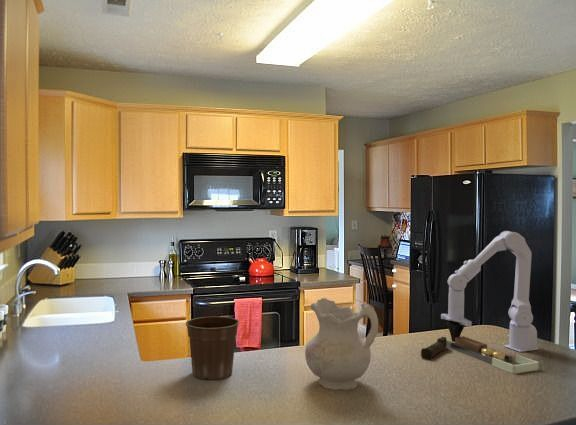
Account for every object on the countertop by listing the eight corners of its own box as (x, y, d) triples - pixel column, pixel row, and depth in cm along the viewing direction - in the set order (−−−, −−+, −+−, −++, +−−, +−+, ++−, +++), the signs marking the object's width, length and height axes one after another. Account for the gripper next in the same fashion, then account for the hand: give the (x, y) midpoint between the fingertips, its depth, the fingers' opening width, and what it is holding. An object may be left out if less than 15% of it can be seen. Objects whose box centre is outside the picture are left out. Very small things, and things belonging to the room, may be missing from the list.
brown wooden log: (431, 361, 178) (431, 347, 178) (420, 358, 180) (420, 345, 180) (452, 349, 192) (453, 337, 192) (442, 347, 195) (443, 335, 195)
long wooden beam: (463, 346, 197) (463, 336, 197) (486, 355, 186) (487, 344, 186) (454, 347, 195) (455, 337, 195) (478, 356, 184) (478, 345, 184)
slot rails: (462, 343, 200) (462, 338, 200) (512, 361, 178) (512, 356, 178) (444, 345, 197) (444, 340, 197) (492, 364, 175) (492, 358, 175)
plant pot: (174, 373, 159) (175, 321, 159) (215, 362, 171) (216, 313, 171) (207, 387, 148) (208, 330, 148) (249, 374, 160) (250, 322, 160)
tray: (516, 361, 178) (517, 354, 178) (539, 369, 170) (539, 362, 170) (492, 365, 173) (492, 357, 173) (513, 373, 165) (514, 365, 165)
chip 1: (487, 355, 185) (487, 347, 185) (495, 358, 181) (496, 350, 181) (478, 356, 184) (478, 348, 183) (487, 359, 180) (487, 351, 180)
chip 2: (498, 359, 181) (498, 350, 181) (507, 362, 178) (507, 353, 178) (489, 360, 180) (489, 351, 180) (498, 363, 176) (498, 354, 176)
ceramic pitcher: (383, 382, 158) (385, 300, 159) (372, 400, 139) (374, 306, 141) (314, 374, 165) (317, 295, 166) (295, 390, 146) (298, 300, 148)
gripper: (435, 303, 203) (434, 337, 203) (461, 310, 189) (460, 347, 189) (449, 301, 205) (448, 336, 206) (476, 309, 192) (475, 345, 192)
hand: (455, 341), depth 198 cm, fingers closed
